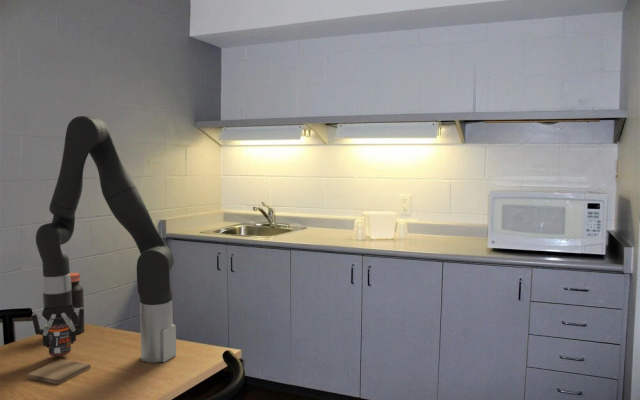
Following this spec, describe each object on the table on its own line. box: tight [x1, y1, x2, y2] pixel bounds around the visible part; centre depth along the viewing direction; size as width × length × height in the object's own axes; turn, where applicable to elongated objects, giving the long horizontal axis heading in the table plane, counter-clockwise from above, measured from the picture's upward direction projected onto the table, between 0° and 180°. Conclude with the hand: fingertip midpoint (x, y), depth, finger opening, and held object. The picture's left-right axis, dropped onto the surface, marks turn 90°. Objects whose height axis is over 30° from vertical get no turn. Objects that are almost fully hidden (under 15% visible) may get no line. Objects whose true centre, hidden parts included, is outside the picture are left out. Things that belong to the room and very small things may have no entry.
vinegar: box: [70, 272, 85, 336], centre depth 175 cm, size 7×7×20 cm
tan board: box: [27, 358, 91, 385], centre depth 143 cm, size 11×11×1 cm
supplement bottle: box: [48, 317, 72, 357], centre depth 154 cm, size 6×6×11 cm
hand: (60, 344), depth 154 cm, fingers closed on supplement bottle, 6 cm apart
